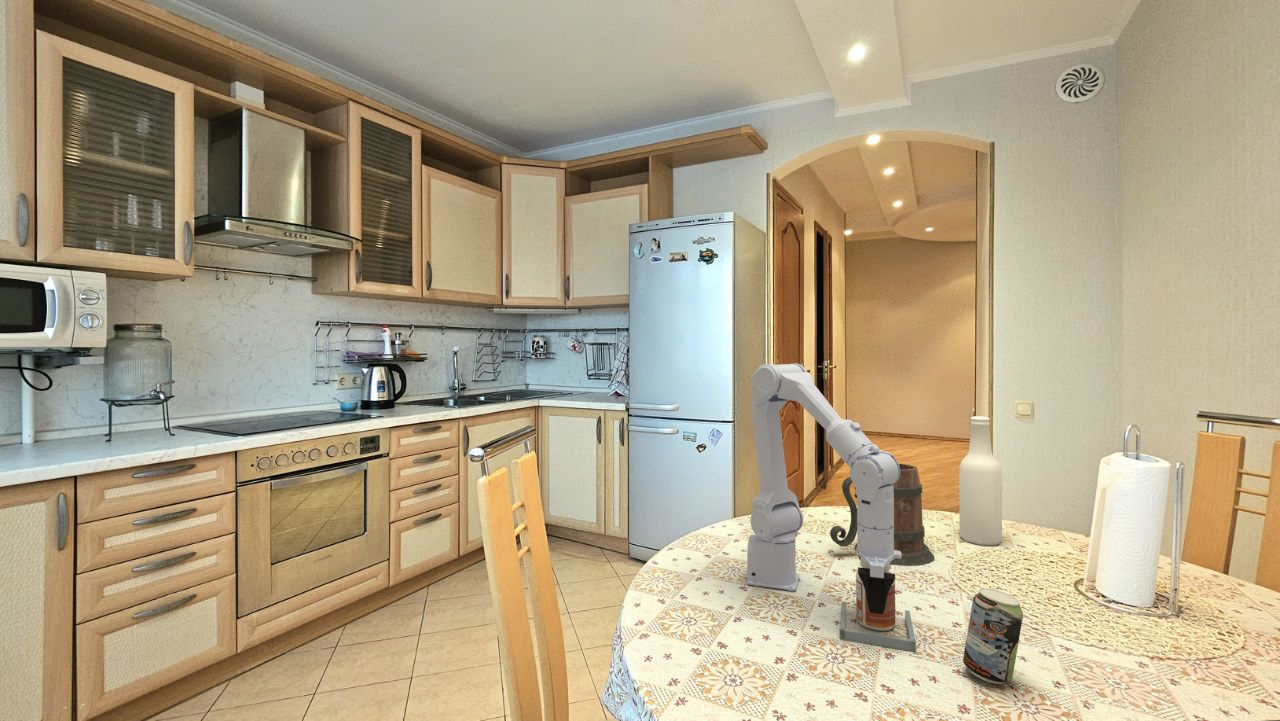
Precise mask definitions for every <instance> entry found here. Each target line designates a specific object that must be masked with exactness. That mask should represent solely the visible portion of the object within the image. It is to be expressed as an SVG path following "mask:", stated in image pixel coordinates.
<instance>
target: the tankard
mask: <svg viewBox="0 0 1280 721" xmlns="http://www.w3.org/2000/svg"><path fill="white" fill-rule="evenodd" d="M898 464H899V466H900V477H899V479H898V481H897V482H896V483H894V484H892V485H894V550H897V551H900V552H901V554H902V558H900V559H898V558H894V559H893V560H892V561H891V563H890V566H899V567H918V566H919V567H920V566H925V565H928V564H931V563H932V562H934V561H935V558H936V557H935V555H934V553H932V552H931V551H930V548H929V546H928V545H927V544H926V543H925V540H924V539H925V538H924V537H925V531H926V530H925V526H924V525H923V524H924V523H923V520H924V519H923V506H922V503H923V502H922V493H923V485H922V483H921V480H920V476H919V475H920V474H919V470H918V467H917V466H915V465H911V464H907V463H898ZM852 484H854V483H853V482H852V480H851V477H850V476H849V477H846V478H845V479H844V480H843V482H842V485H841V488H842V493H843V496H844V498H845V501H846V502H847V504H848V507H849V512H850V525H849V529H848V532H847V531H846V529H845V528H843V527H842V526H840V525H834V526H833V527H831V529H830V532H829V534H830V538H831V539H832V541H833V542H834V543H835V544H836V545H838V546H840V547H843V548H844V547H849V546H850V545H851V544H852V543H853V542H854V540H856V539H855V538H856V536H857V503H856V502H855V501H854V499H853V496H852V494H851V490H850V488H851V485H852ZM886 487H887V486H886ZM854 490H855V493H854V498H856V499H857V495H856V488H855V487H854ZM839 533H840V534H839ZM838 537H839V538H840V540H839V538H838ZM856 547H857V543H856V544H855V545H854V547H853V548H854V551H855V552H856Z"/></svg>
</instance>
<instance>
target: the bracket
mask: <svg viewBox="0 0 1280 721" xmlns="http://www.w3.org/2000/svg"><path fill="white" fill-rule="evenodd" d="M846 614H847V601H844V600H843V601H841V611H840V626H839V639H840V640H844V641H848V642H855V643H860V644H865V645H866V644H867V645H870V646H871V645H873V646H879V647H883V648H891V649H896V650H903V651H907V652H915V653H916V652H917V647H916V646H917V640H916V637H915V631H914V627H913V621H912V616H911V612H910V610H904V619H905V626H906V631H907V637H908V638H905V637H899V636H891V635H886V634H879V633H872V632H867V631H860V630H855V629H849V628H846V621H847V618H846V617H847V615H846Z"/></svg>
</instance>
